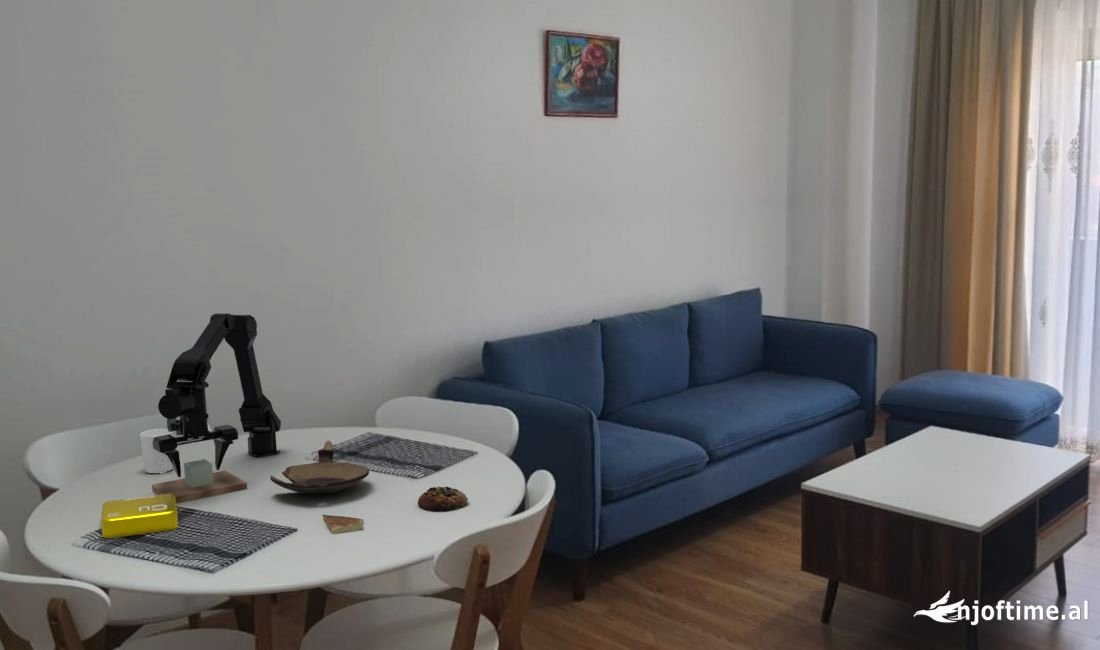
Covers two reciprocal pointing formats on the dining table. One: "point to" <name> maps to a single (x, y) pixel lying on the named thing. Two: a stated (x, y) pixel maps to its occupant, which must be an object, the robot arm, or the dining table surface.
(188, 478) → the sage cube
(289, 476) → the oil lamp
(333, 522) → the shard
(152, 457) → the white cup
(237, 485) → the walnut board
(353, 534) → the dining table surface
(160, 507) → the element tile
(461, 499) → the bread roll
